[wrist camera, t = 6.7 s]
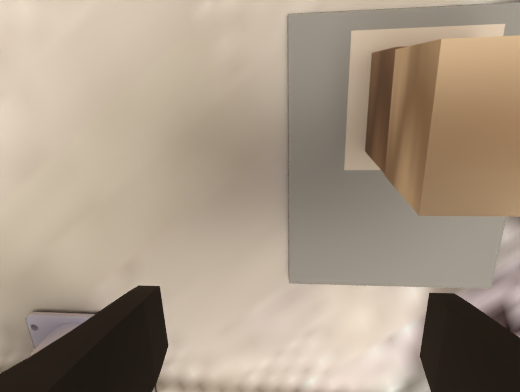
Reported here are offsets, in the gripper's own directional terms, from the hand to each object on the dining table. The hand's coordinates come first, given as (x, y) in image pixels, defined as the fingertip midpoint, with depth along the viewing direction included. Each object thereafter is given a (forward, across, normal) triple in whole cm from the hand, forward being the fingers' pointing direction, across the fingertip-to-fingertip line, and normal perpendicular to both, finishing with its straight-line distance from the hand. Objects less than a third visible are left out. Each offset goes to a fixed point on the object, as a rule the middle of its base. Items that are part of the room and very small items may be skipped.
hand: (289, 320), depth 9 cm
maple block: (+5, -6, -5) cm, 9 cm away
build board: (+10, -5, -2) cm, 12 cm away
